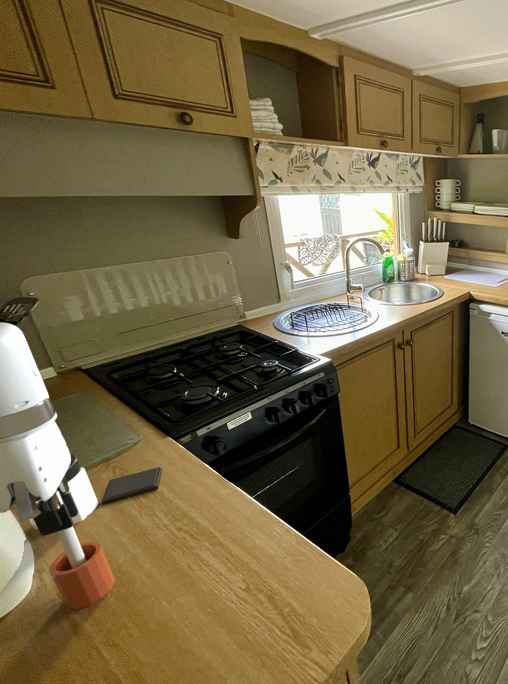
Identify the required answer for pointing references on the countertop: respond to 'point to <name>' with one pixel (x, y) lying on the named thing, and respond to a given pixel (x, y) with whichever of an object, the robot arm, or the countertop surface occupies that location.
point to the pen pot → (83, 577)
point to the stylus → (71, 544)
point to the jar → (78, 491)
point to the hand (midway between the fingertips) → (60, 523)
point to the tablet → (132, 485)
